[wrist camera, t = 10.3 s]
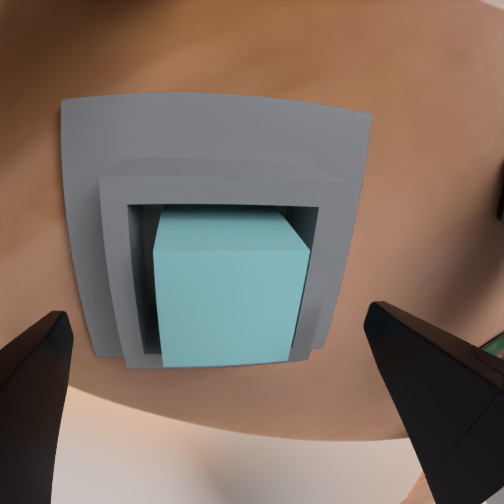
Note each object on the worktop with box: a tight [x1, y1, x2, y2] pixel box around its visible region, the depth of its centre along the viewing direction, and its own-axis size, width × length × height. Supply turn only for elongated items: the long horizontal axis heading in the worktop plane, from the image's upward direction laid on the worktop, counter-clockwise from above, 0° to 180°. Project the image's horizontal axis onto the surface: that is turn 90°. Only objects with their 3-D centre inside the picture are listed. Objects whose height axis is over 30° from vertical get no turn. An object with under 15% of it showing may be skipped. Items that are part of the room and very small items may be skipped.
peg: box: [153, 204, 310, 367], centre depth 11 cm, size 4×4×4 cm
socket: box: [61, 92, 372, 369], centre depth 12 cm, size 12×12×4 cm
